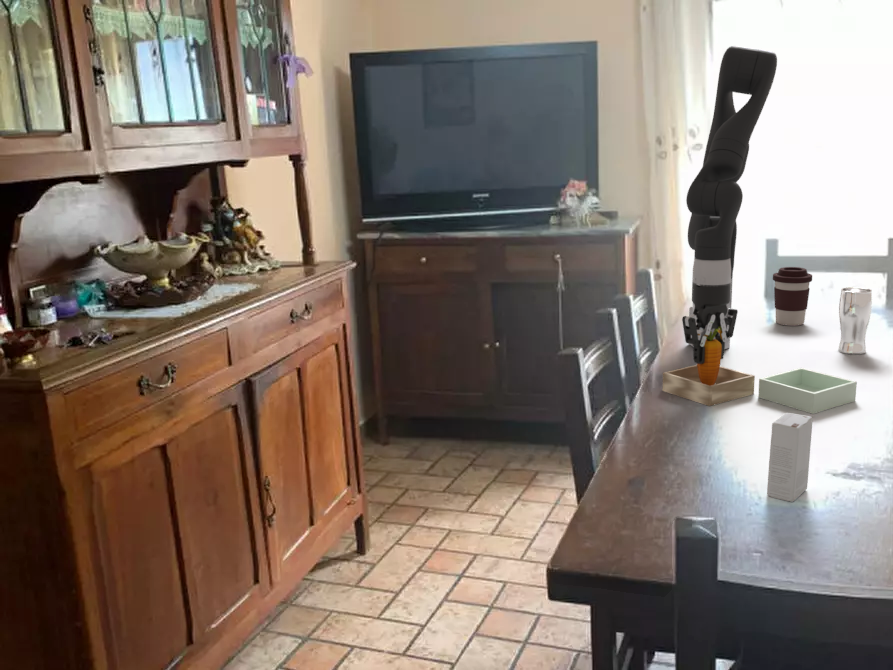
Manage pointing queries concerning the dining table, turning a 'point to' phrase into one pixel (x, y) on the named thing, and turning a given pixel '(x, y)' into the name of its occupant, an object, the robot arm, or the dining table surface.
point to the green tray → (807, 390)
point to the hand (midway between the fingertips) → (708, 360)
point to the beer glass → (854, 319)
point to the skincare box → (789, 456)
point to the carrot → (710, 360)
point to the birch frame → (724, 390)
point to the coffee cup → (791, 295)
